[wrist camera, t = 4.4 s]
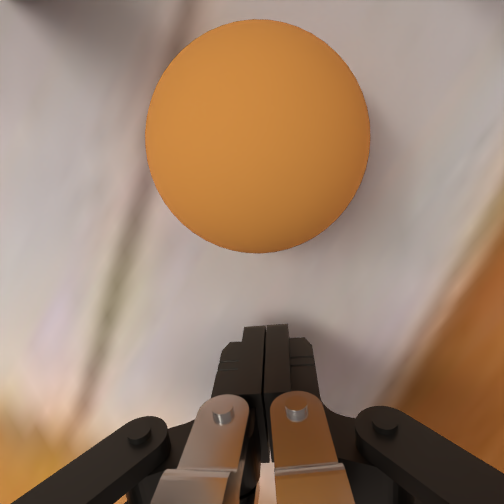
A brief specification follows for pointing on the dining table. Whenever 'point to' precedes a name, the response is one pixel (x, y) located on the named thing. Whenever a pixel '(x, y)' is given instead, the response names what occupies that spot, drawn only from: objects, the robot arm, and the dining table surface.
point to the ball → (257, 136)
